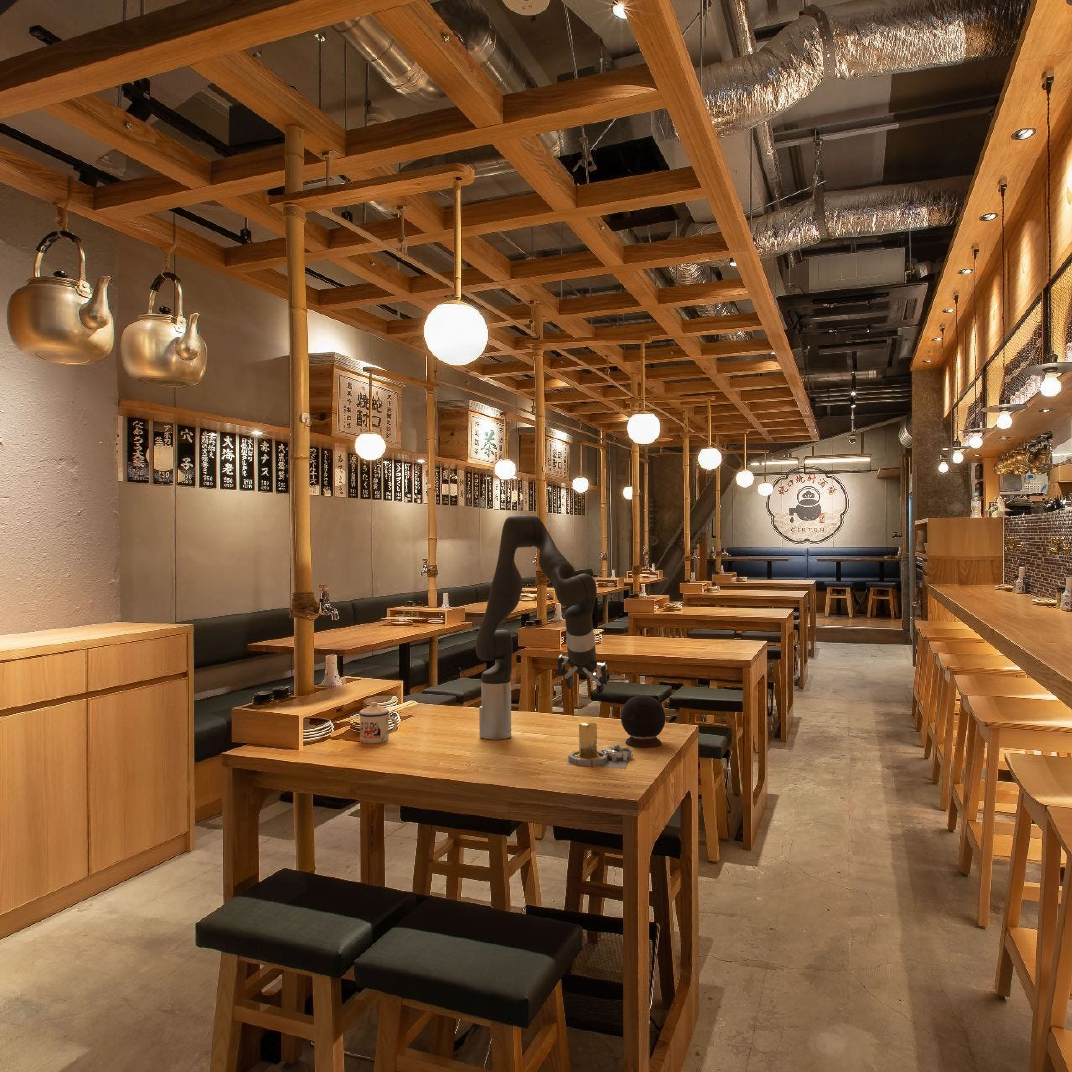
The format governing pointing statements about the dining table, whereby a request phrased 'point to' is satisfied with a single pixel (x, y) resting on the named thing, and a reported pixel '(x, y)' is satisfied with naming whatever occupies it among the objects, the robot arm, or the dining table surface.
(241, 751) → the dining table surface
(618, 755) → the gear
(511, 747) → the dining table surface
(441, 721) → the dining table surface
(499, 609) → the robot arm
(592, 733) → the gear hub
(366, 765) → the dining table surface
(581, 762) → the gear board
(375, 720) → the teacup with lid
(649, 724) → the black ball on stand
